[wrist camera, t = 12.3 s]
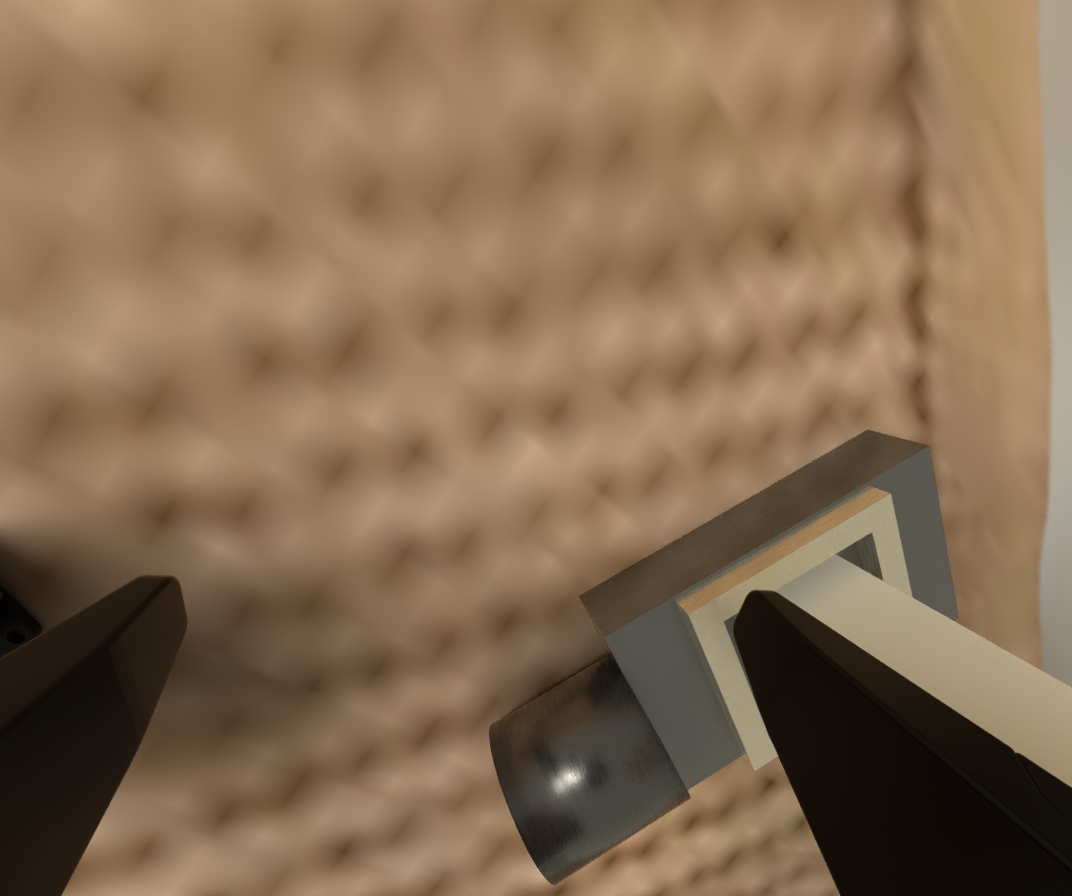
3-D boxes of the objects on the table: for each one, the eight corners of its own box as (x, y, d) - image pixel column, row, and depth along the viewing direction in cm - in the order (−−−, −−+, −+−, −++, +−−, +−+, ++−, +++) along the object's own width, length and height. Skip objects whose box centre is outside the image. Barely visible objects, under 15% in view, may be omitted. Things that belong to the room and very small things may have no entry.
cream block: (768, 693, 23) (1024, 963, 13) (738, 612, 21) (1008, 857, 11) (892, 615, 23) (1219, 820, 14) (872, 531, 22) (1231, 700, 12)
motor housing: (552, 802, 25) (594, 944, 19) (459, 665, 22) (478, 788, 16) (901, 585, 27) (1030, 656, 22) (867, 429, 24) (1009, 466, 18)
